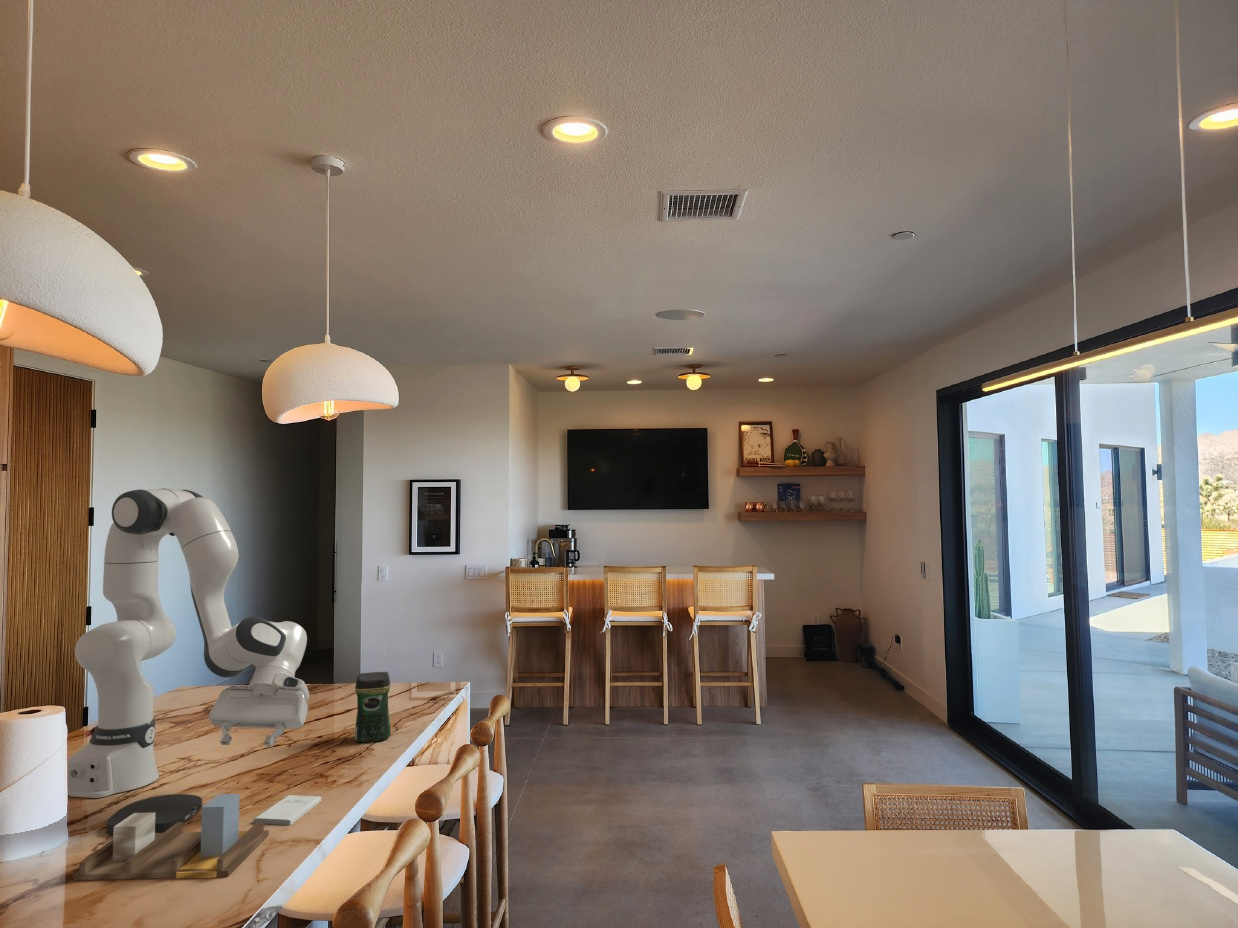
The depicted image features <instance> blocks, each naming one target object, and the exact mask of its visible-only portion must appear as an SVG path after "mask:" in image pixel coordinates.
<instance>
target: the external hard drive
mask: <svg viewBox="0 0 1238 928" xmlns="http://www.w3.org/2000/svg"><path fill="white" fill-rule="evenodd" d="M320 802H322V797H321V796H318V795H317V796H315V795H297V794H296V795H294V794H289V795H286V796H285V797H284V798H282V799H281V800H279V801H278V802H276V803H275V804H273V805H271V806H270V807H269V808H267V809H266V810H265V811H263V812H262V813H261V814H259V815H257V816H256V817H254V818H253V824H256V823H257V822H258V821H259V820H264V825H282V826H283V825H285V826H291V825H293V824H294V823H295V822H296V821H298V820H299V819H300V818H301V817H302V816H304V815H305V814H306V813H308V812H309V811H310V810H311V809H313V808H314V807H315V806H316V805H318V804H320Z"/></svg>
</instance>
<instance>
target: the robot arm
mask: <svg viewBox="0 0 1238 928" xmlns="http://www.w3.org/2000/svg"><path fill="white" fill-rule="evenodd" d="M111 518H112V524H111V526H110V527H109V530H108V534H107V538H106V542H105V546H104V547H105V549H104V555H103V559H104V560H103V579H102V594H103V597H104V598H105V600H107V601H109V602H110V603H111V604H112V605H113V607H114V610H115V612H116V613H115V614H116V619H117V621H112V622H108V623H102V624H100V625H98V626H96V627H94V628H92V629H90V630H88V631H86V632H85V633H83V634H82V635H81V636H80V637H79V638H78V640H77V641H76V644H75V648H74V655H75V659H76V662H77V663H78V664H79V666H80V667H81V668H82V669H84V670H85V671H87V672H88V673H89V674H90V676H91V677H92V680H93V681H94V685H95V688H96V691H97V699H98V702H97V704H98V705H97V707H98V709H97V710H98V711H97V713H98V714H97V717H98V718H97V725H95V727H92V728H91V729H89V730H87V731H85V733H86V734H85V737H86V738H87V737H88V736H91V737H90V738H89V741H88V743H87V744H85V745H84V746H83V747H81V748H80V749H79V750H77V751H76V752H75V753H74V754H72V755H71V756H69V758H67V759H68V795H69V796H68V797H74V798H75V797H77V798H90V799H91V798H92V799H94V798H95V799H100V798H105V797H108V796H111V795H114V794H118V793H122V792H127V791H132V790H135V789H139V788H142V787H145V786H147V785H149V784H151V783H153V782H155V781H157V780H158V779H159V777H160V773H159V771H158V766H157V762H156V756H155V748H154V747H155V746H154V745H155V744H154V742H155V735H156V719H155V717H154V702H155V701H154V700H155V689H154V686H153V684H152V683H151V682H149V681H148V680H146V679H145V678H144V675H143V671H142V669H141V667H142V666H141V662H144V661H147V660H149V659H153V658H156V657H158V656H159V655H161V654H162V653H164V652H165V651H167V650H169V649H170V648H171V647H172V645H173V644H174V642H175V641H176V637H177V629H176V625H175V624H174V622H173V621H172V619H170V618H169V617H168V616H167V615H166V614H165V612H164V610H163V607H162V603H161V600H160V594H159V587H158V586H159V545H160V542H161V541H162V539H163V538H164V537H165V536H167V535H169V536H171V537H174V536H175V537H176V538H177V541H178V543H179V546H180V549H181V551H182V554H183V557H184V561H185V563H186V567H187V570H188V575H189V586H190V587H189V588H190V593H191V599H192V601H193V607H194V609H195V613H196V616H197V620H198V623H199V627H200V630H201V634H202V636H203V637H202V638H203V643H204V644H203V646H204V647H203V659H204V663H205V665H206V667H207V668H208V670H210V672H211V673H213V674H215V675H216V676H218V677H221V678H233V677H236V676H239V675H240V674H241V673H243V671H245V670H246V669H247V668H249V666H251V665H253V666H254V667H255V670H254V673H253V675H252V677H251V680H250V681H249V683H248V685H247V686H246V685H245V686H243V685H242V686H236V685H231V686H229V687H227V688H225V689H223V690H222V691H220V694H219V695H218V698H217V700H216V701H215V703H214V705H213V706H212V708H211V710H210V712H209V714H208V720H209V721H210V723H211V724H212V726H214V727H217V728H218V727H219V728H220V727H221V733H222V735H221V738H220V740H219V742H220V743H219V744H220V745H221V746H229V745H230V744H231V742H232V739H233V737H232V736H231V734H229V732H230V731H231V730H232V728H252V729H253V728H254V729H259V728H260V729H275V730H274V731H273V732H272V733H271V734H270V735H266V736H265V740H264V743H263V744H264V746H265V747H273V746H274V745H275V743H276V742H275V741H276V740H278V738H280V737H281V736H282V735H283V734H284V732H285V730H287V729H289V730H299V729H300V728H302V727H303V726H304V724H305V721H306V719H307V717H308V716H307V715H308V711H309V704H308V701H309V700H310V697H311V695H310V691H309V689H308V687H307V685H306V683H305V681H304V680H302V679H300V678H297V677H295V675H296V672H297V670H298V668H299V667H300V666H301V663H302V660H303V657H304V655H305V651H306V648H307V642H308V636H307V632H306V630H305V629H304V628H303V626H301V625H300V624H298V623H297V622H293V621H287V620H284V621H280V622H276V621H269V620H267V619H265V618H264V617H259V616H248V617H245V618H244V619H242V620H241V621H239V622H238V623H236V624H234V625H233V626H232V623H231V620H230V617H229V614H228V610H227V607H226V602H225V595H224V594H225V591H226V586H227V584H228V582H229V579H230V577H231V575H232V573H233V571H234V570H235V568H236V566H237V565H238V561H239V558H240V556H239V549H238V544H237V541H236V539H235V536H234V534H233V532H232V530H231V528H230V525H229V523H228V522H227V520H226V518H225V516H224V515H223V513H222V511H221V510H220V508H219V507H218V506H217V504H216V503H215V501H213V500H212V499H210V498H206V497H203V495H202V494H199V493H197V492H195V491H193V490H189V489H178V488H177V489H175V488H166V487H165V488H153V489H152V488H151V489H133V490H128V491H125V492H123V493H120V494H119V496H118V497H117V498H116V499H115V500H114V502H113V504H112V507H111Z"/></svg>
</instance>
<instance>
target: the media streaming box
mask: <svg viewBox="0 0 1238 928" xmlns="http://www.w3.org/2000/svg"><path fill="white" fill-rule="evenodd" d="M202 807H203V798H202V797H201V796H199V795H197V794H185V793H178V794H177V793H173V794H171V793H170V794H169V793H168V794H161V795H155V796H151V797H146V798H142V799H139V800H136V801H133V802H130V803H129V804H126V805H125V806H123V807H122V808H120V809H118V810H117V811H116V812H114V813H113V814H112V815H111V816H110V817H109V818H108V819H107V821H106V834H107V835H109V836H113V832H114V826H116V825H117V824H119V823H120V822H122V821H123V820H125V819H126V818H128V817H129V816H131V815H132V814H134V813H155V833H164V832H165V831H167V830H168V829H169V828H171V827H172V826H173V825H175V824H176V823H177V822H183V825H184V824H186V823H187V822H188V821H190V820H191V819H192V818H194V817H195V816H196V815H197V814H198V813H199V812H200V811H202Z"/></svg>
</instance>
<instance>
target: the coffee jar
mask: <svg viewBox="0 0 1238 928" xmlns="http://www.w3.org/2000/svg"><path fill="white" fill-rule="evenodd" d="M390 689H391V679H390V675H389V672H388V671H374V672H373V671H372V672H363V673H359V674H358V675H357V677H356V681H355V687H354V690H355V694H356V698H357V699H356V701H357V707H356V710H357V711H356V721H355V728H354V739H355V741H356V742H358V743H371V742H372V743H374V742H379V741H384V740H387V739H388V738H389V737H390V736H391V720H390V713H389V711H390V710H389V692H390Z"/></svg>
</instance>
